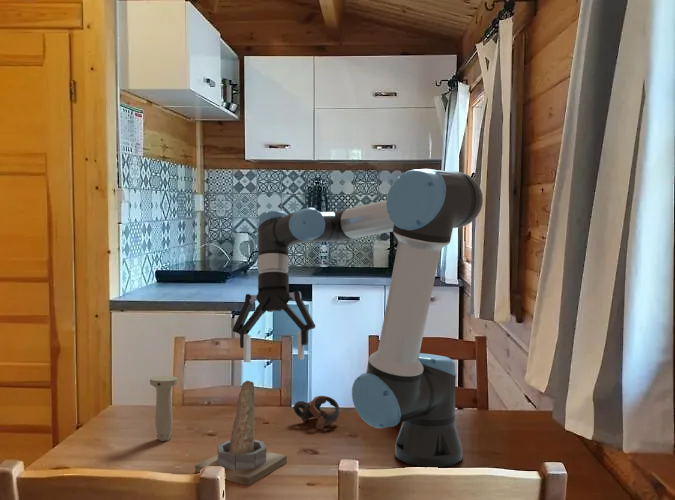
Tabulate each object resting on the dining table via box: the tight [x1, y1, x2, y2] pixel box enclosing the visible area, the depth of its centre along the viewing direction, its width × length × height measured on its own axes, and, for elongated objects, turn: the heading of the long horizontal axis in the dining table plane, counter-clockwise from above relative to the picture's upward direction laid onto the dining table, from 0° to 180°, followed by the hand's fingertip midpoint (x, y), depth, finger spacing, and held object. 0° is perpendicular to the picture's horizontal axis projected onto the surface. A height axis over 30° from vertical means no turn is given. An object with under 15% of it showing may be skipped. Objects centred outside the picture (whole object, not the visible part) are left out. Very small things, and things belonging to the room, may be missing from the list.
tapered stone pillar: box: [228, 380, 256, 454], centre depth 141 cm, size 6×18×6 cm
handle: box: [149, 375, 178, 442], centre depth 159 cm, size 5×6×15 cm
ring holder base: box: [194, 439, 288, 486], centre depth 142 cm, size 14×14×4 cm
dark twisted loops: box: [292, 395, 340, 430], centre depth 171 cm, size 12×10×8 cm
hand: (273, 360), depth 157 cm, fingers open, 13 cm apart
